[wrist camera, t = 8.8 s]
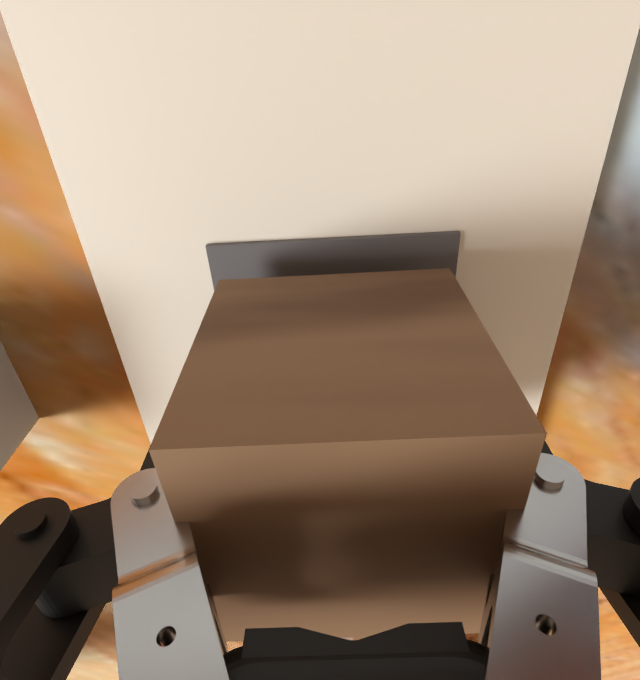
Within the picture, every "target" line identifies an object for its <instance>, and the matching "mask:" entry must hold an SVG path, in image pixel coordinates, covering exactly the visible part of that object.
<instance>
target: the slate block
mask: <svg viewBox="0 0 640 680" xmlns="http://www.w3.org/2000/svg"><path fill="white" fill-rule="evenodd" d="M38 419H39V417H38V415H37V413H36V411H35V409H34V407H33V405H32V403H31V401H30V399H29V397H28V395H27V393H26V391H25V389H24V387H23V385H22V383H21V381H20V379H19V377H18V375H17V373H16V371H15V369H14V367H13V365H12V363H11V361H10V359H9V357H8V355H7V353H6V351H5V349H4V347H3V345H2V343H1V341H0V470H1V469H2V468H3V466H4V465H5V464H6V462H7V461H8V460H9V458H10V457H11V456H12V454H13V453H14V452H15V450H16V449H17V448H18V446H19V445H20V443H21V442H22V441H23V439H24V438H25V437H26V435H27V434H28V433H29V431H30V430H31V429H32V427H33V426H34V425H35V423H36V422H37V421H38Z"/></svg>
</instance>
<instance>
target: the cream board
mask: <svg viewBox="0 0 640 680" xmlns="http://www.w3.org/2000/svg"><path fill="white" fill-rule="evenodd" d="M0 11H1V14H2V17H3V20H4V23H5V26H6V28H7V31H8V34H9V37H10V40H11V43H12V46H13V49H14V52H15V54H16V57H17V60H18V63H19V66H20V69H21V72H22V75H23V77H24V80H25V83H26V86H27V89H28V92H29V95H30V98H31V100H32V103H33V106H34V109H35V112H36V115H37V118H38V121H39V124H40V126H41V129H42V132H43V135H44V138H45V141H46V144H47V147H48V149H49V152H50V155H51V158H52V161H53V164H54V167H55V170H56V172H57V175H58V178H59V181H60V184H61V187H62V190H63V193H64V196H65V198H66V201H67V204H68V207H69V210H70V213H71V216H72V219H73V221H74V224H75V227H76V230H77V233H78V236H79V239H80V242H81V244H82V247H83V250H84V253H85V256H86V259H87V262H88V265H89V268H90V270H91V273H92V276H93V279H94V282H95V285H96V288H97V291H98V293H99V296H100V299H101V302H102V305H103V308H104V311H105V314H106V316H107V319H108V322H109V325H110V328H111V331H112V334H113V337H114V340H115V342H116V345H117V348H118V351H119V354H120V357H121V360H122V363H123V365H124V368H125V371H126V374H127V377H128V380H129V383H130V386H131V388H132V391H133V394H134V397H135V400H136V403H137V406H138V409H139V412H140V414H141V417H142V420H143V423H144V426H145V429H146V432H147V435H148V437H149V440H150V443H152V441H153V438H154V436H155V433H156V431H157V429H158V426H159V424H160V421H161V419H162V416H163V414H164V412H165V409H166V407H167V404H168V402H169V400H170V397H171V395H172V392H173V390H174V388H175V385H176V383H177V380H178V378H179V375H180V373H181V371H182V368H183V366H184V363H185V361H186V359H187V356H188V354H189V351H190V349H191V346H192V344H193V342H194V339H195V337H196V334H197V332H198V329H199V327H200V325H201V322H202V320H203V317H204V315H205V313H206V310H207V308H208V305H209V303H210V300H211V298H212V296H213V293H214V291H215V288H216V286H217V283H218V281H219V280H228V279H247V278H267V277H286V276H306V275H326V274H345V273H365V272H384V271H404V270H424V269H443V268H450V269H451V271H452V273H453V275H454V276H455V278H456V280H457V281H458V283H459V285H460V287H461V288H462V290H463V292H464V293H465V295H466V297H467V298H468V300H469V302H470V304H471V305H472V307H473V309H474V310H475V312H476V314H477V315H478V317H479V319H480V321H481V322H482V324H483V326H484V327H485V329H486V331H487V332H488V334H489V336H490V338H491V339H492V341H493V343H494V344H495V346H496V348H497V350H498V351H499V353H500V355H501V356H502V358H503V360H504V361H505V363H506V365H507V367H508V368H509V370H510V372H511V373H512V375H513V377H514V378H515V380H516V382H517V384H518V385H519V387H520V389H521V390H522V392H523V394H524V395H525V397H526V399H527V401H528V402H529V404H530V406H531V407H532V409H533V411H534V412H535V414H536V416H537V412H538V408H539V404H540V400H541V397H542V393H543V389H544V385H545V382H546V378H547V374H548V370H549V367H550V363H551V359H552V355H553V352H554V348H555V344H556V340H557V337H558V333H559V329H560V325H561V321H562V318H563V314H564V310H565V306H566V303H567V299H568V295H569V291H570V288H571V284H572V280H573V276H574V273H575V269H576V265H577V261H578V257H579V254H580V250H581V246H582V242H583V239H584V235H585V231H586V227H587V224H588V220H589V216H590V212H591V209H592V205H593V201H594V197H595V193H596V190H597V186H598V182H599V178H600V175H601V171H602V167H603V163H604V160H605V156H606V152H607V148H608V145H609V141H610V137H611V133H612V130H613V126H614V122H615V118H616V114H617V111H618V107H619V103H620V99H621V96H622V92H623V88H624V84H625V81H626V77H627V73H628V69H629V66H630V62H631V58H632V54H633V50H634V47H635V43H636V39H637V35H638V32H639V28H640V0H0Z"/></svg>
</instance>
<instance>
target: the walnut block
mask: <svg viewBox="0 0 640 680" xmlns="http://www.w3.org/2000/svg"><path fill="white" fill-rule="evenodd" d="M546 434H547V433H546V431H545V430H544V428H543V426H542V424H541V423H540V421H539V419H538V418H537V416H536V414H535V412H534V411H533V409H532V407H531V406H530V404H529V402H528V401H527V399H526V397H525V395H524V394H523V392H522V390H521V389H520V387H519V385H518V384H517V382H516V380H515V378H514V377H513V375H512V373H511V372H510V370H509V368H508V367H507V365H506V363H505V361H504V360H503V358H502V356H501V355H500V353H499V351H498V350H497V348H496V346H495V344H494V343H493V341H492V339H491V338H490V336H489V334H488V332H487V331H486V329H485V327H484V326H483V324H482V322H481V321H480V319H479V317H478V315H477V314H476V312H475V310H474V309H473V307H472V305H471V304H470V302H469V300H468V298H467V297H466V295H465V293H464V292H463V290H462V288H461V287H460V285H459V283H458V281H457V280H456V278H455V276H454V275H453V273H452V271H451V269H450V268H443V269H424V270H404V271H384V272H365V273H345V274H326V275H306V276H286V277H267V278H247V279H228V280H219V281H218V283H217V286H216V288H215V291H214V293H213V296H212V298H211V300H210V303H209V305H208V308H207V310H206V313H205V315H204V317H203V320H202V322H201V325H200V327H199V329H198V332H197V334H196V337H195V339H194V342H193V344H192V346H191V349H190V351H189V354H188V356H187V359H186V361H185V363H184V366H183V368H182V371H181V373H180V375H179V378H178V380H177V383H176V385H175V388H174V390H173V392H172V395H171V397H170V400H169V402H168V405H167V407H166V409H165V412H164V414H163V417H162V419H161V421H160V424H159V426H158V429H157V431H156V434H155V436H154V438H153V441H152V443H151V446H150V448H149V452H150V455H151V458H152V461H153V464H154V466H155V469H156V472H157V475H158V478H159V480H160V483H161V486H162V489H163V492H164V494H165V497H166V500H167V503H168V506H169V509H170V511H171V514H172V517H173V520H174V522H185V521H188V522H189V525H190V528H191V531H192V534H193V537H194V541H195V545H196V548H197V552H198V556H199V559H200V563H201V567H202V570H203V574H204V577H205V580H206V584H209V586H210V589H211V592H212V595H213V599H214V602H215V606H216V609H217V613H218V617H219V620H220V624H221V627H222V631H223V634H224V638H225V641H226V642H227V641H244V633H245V629H247V628H278V627H300V628H304V629H308V630H312V631H316V632H320V633H324V634H328V635H332V636H335V637H339V638H353V637H368V636H371V635H374V634H377V633H380V632H384V631H387V630H390V629H393V628H396V627H399V626H402V625H405V624H408V623H437V622H462V624H463V628H464V632H465V634H478V633H479V631H480V626H481V621H482V615H483V609H484V603H485V597H486V591H487V586H488V582H489V578H490V574H495V571H496V566H497V561H498V555H499V549H500V542H501V536H502V529H503V524H504V520H505V516H506V512H507V509H525V506H526V503H527V500H528V496H529V493H530V489H531V486H532V482H533V479H534V475H535V472H536V469H537V465H538V462H539V458H540V455H541V451H542V448H543V444H544V441H545V438H546Z"/></svg>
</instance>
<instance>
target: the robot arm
mask: <svg viewBox="0 0 640 680" xmlns="http://www.w3.org/2000/svg"><path fill="white" fill-rule="evenodd" d="M167 405H168V404H167ZM162 417H163V416H162ZM155 434H156V433H155ZM150 446H151V445H150ZM598 587H599V588H600V589H601V591H602V592H603V594H604V595H605V597H606V598H607V600H608V601H609V603H610V604H611V606H612V607H613V608H614V610H615V611H616V613H617V614H618V616H619V617H620V619H621V620H622V622H623V623H624V625H625V626H626V628H627V629H628V631H629V632H630V634H631V635H632V637H633V638H634V639H635V641H636V642H637V644H638V645H639V647H640V478H639V479H637V480H636V481H634V482H633V484H632V486H631V488H630V490H627V489H622V488H617V487H612V486H608V485H603V484H598V483H594V482H590V481H588V480H585V479H584V478H583V477H582V475H581V474H580V472H579V471H578V470H577V469H576V468H575V467H574V466H573V465H571V464H570V463H569V462H567V461H565V460H563V459H562V458H559V457H557V456H554V455H553V454H552V452H551V451H550V449H549V447H548V445H547V444H546V442H545V441H544V444H543V448H542V451H541V455H540V458H539V462H538V465H537V469H536V472H535V475H534V479H533V482H532V486H531V489H530V493H529V496H528V500H527V503H526V506H525V509H507V512H506V516H505V520H504V524H503V529H502V536H501V542H500V549H499V555H498V561H497V566H496V571H495V574H490V578H489V582H488V586H487V591H486V597H485V603H484V609H483V615H482V621H481V626H480V631H479V636H478V640H477V642H474V641H471V640H467V639H466V636H465V632H464V628H463V624H462V622H437V623H408V624H405V625H402V626H399V627H396V628H393V629H390V630H387V631H384V632H380V633H377V634H374V635H371V636H368V637H365V638H362V639H359V640H347V639H343V638H339V637H335V636H332V635H328V634H324V633H320V632H316V631H312V630H308V629H304V628H300V627H278V628H247V629H245V633H244V641H243V646H242V647H239V648H236V649H233V650H231V651H228V647H227V644H226V641H225V638H224V634H223V631H222V627H221V624H220V620H219V617H218V613H217V609H216V606H215V602H214V599H213V595H212V592H211V589H210V586H209V584H206V580H205V577H204V574H203V570H202V567H201V563H200V559H199V556H198V552H197V548H196V545H195V541H194V537H193V534H192V531H191V528H190V525H189V522H188V521H185V522H174V520H173V517H172V514H171V511H170V509H169V506H168V503H167V500H166V497H165V494H164V492H163V489H162V486H161V483H160V480H159V478H158V475H157V472H156V469H155V466H154V464H153V461H152V458H151V455H150V452H149V450H148V453H147V455H146V458H145V460H144V462H143V465H142V467H141V470H140V471H139V472H136V473H134V474H132V475H131V476H129V477H128V478H126V479H125V480H124V481H123V482H121V483H120V484H119V486H118V487H117V488H116V490H115V491H114V493H113V495H112V497H111V498H109V499H107V500H104V501H101V502H98V503H95V504H91V505H88V506H85V507H81V508H78V509H75V510H72V511H71V510H70V508H69V506H68V505H67V503H66V502H65V501H63V500H61V499H59V498H42V499H38V500H35V501H32V502H30V503H27V504H25V505H23V506H22V507H20V508H18V509H17V510H16V511H14V512H13V513H12V514H10V515H9V516H8V517H7V518H6V519H5V520H4V521H3V522H2V524H1V525H0V680H66V679H67V677H68V675H69V673H70V671H71V669H72V667H73V665H74V663H75V661H76V659H77V658H78V656H79V654H80V652H81V650H82V648H83V646H84V644H85V642H86V640H87V638H88V636H89V635H90V633H91V631H92V629H93V627H94V625H95V623H96V621H97V619H98V617H99V615H100V614H101V612H102V610H103V608H104V606H105V604H106V603H108V602H111V601H112V605H113V616H114V628H115V639H116V650H117V662H118V673H119V680H601V662H600V634H599V606H598Z"/></svg>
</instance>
